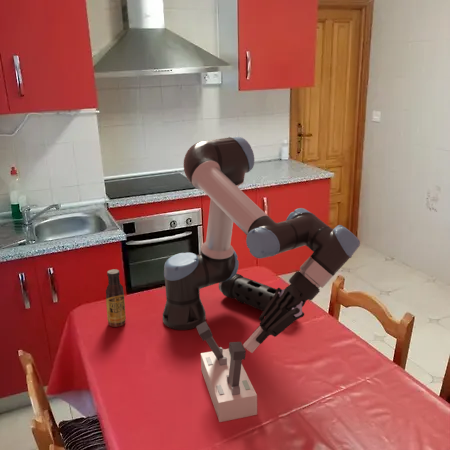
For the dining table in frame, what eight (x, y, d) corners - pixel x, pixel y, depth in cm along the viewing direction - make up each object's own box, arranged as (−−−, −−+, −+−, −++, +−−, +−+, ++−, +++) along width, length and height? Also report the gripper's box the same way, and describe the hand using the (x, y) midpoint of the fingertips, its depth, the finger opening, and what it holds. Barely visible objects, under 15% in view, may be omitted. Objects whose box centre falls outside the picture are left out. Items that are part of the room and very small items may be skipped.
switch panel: (234, 364, 143) (233, 341, 140) (257, 414, 122) (257, 388, 120) (201, 370, 140) (200, 347, 138) (219, 422, 120) (218, 396, 118)
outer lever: (236, 377, 125) (240, 341, 122) (241, 387, 121) (245, 351, 118) (225, 378, 125) (229, 342, 121) (230, 388, 121) (234, 351, 117)
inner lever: (222, 348, 137) (205, 321, 133) (226, 356, 133) (208, 329, 129) (213, 353, 137) (196, 326, 132) (216, 362, 133) (199, 334, 128)
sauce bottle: (110, 329, 163) (104, 277, 157) (106, 321, 168) (99, 270, 162) (129, 324, 166) (123, 272, 159) (124, 316, 171) (118, 266, 165)
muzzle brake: (275, 325, 163) (275, 298, 160) (217, 300, 182) (216, 275, 178) (292, 314, 170) (292, 288, 166) (234, 291, 188) (233, 267, 185)
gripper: (331, 298, 115) (266, 370, 116) (308, 277, 127) (249, 342, 128) (311, 281, 112) (245, 356, 113) (289, 261, 124) (229, 328, 125)
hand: (247, 348), depth 120 cm, fingers closed
